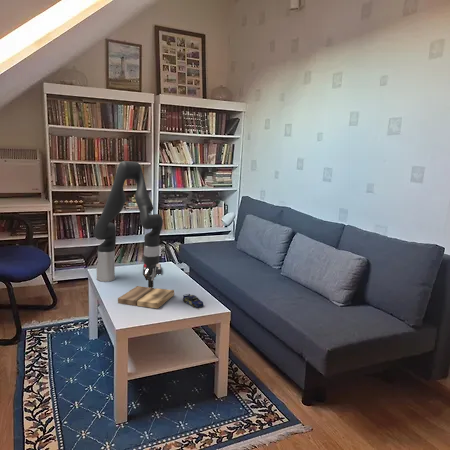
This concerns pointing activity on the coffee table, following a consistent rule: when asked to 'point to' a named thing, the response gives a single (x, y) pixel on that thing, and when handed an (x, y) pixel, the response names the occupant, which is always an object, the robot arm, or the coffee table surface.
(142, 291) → the floor board
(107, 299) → the coffee table surface
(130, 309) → the coffee table surface
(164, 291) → the plank
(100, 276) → the robot arm
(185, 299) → the race car
